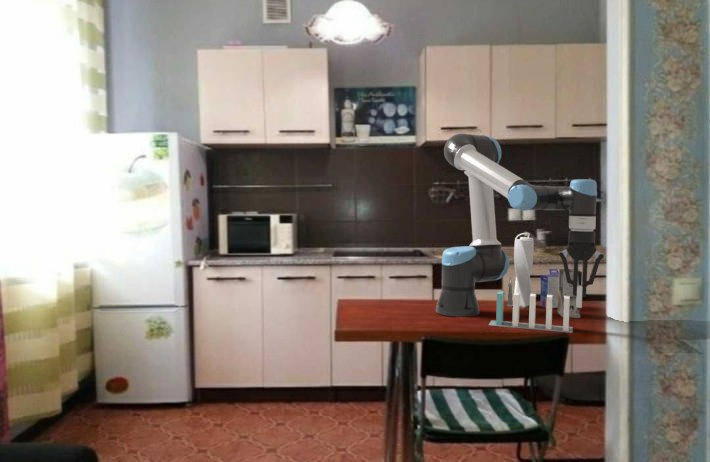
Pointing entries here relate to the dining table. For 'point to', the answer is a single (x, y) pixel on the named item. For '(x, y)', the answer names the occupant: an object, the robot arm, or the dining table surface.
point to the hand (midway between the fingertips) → (578, 306)
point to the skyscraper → (522, 270)
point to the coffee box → (568, 293)
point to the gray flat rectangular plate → (526, 326)
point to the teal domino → (499, 308)
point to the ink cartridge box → (549, 288)
